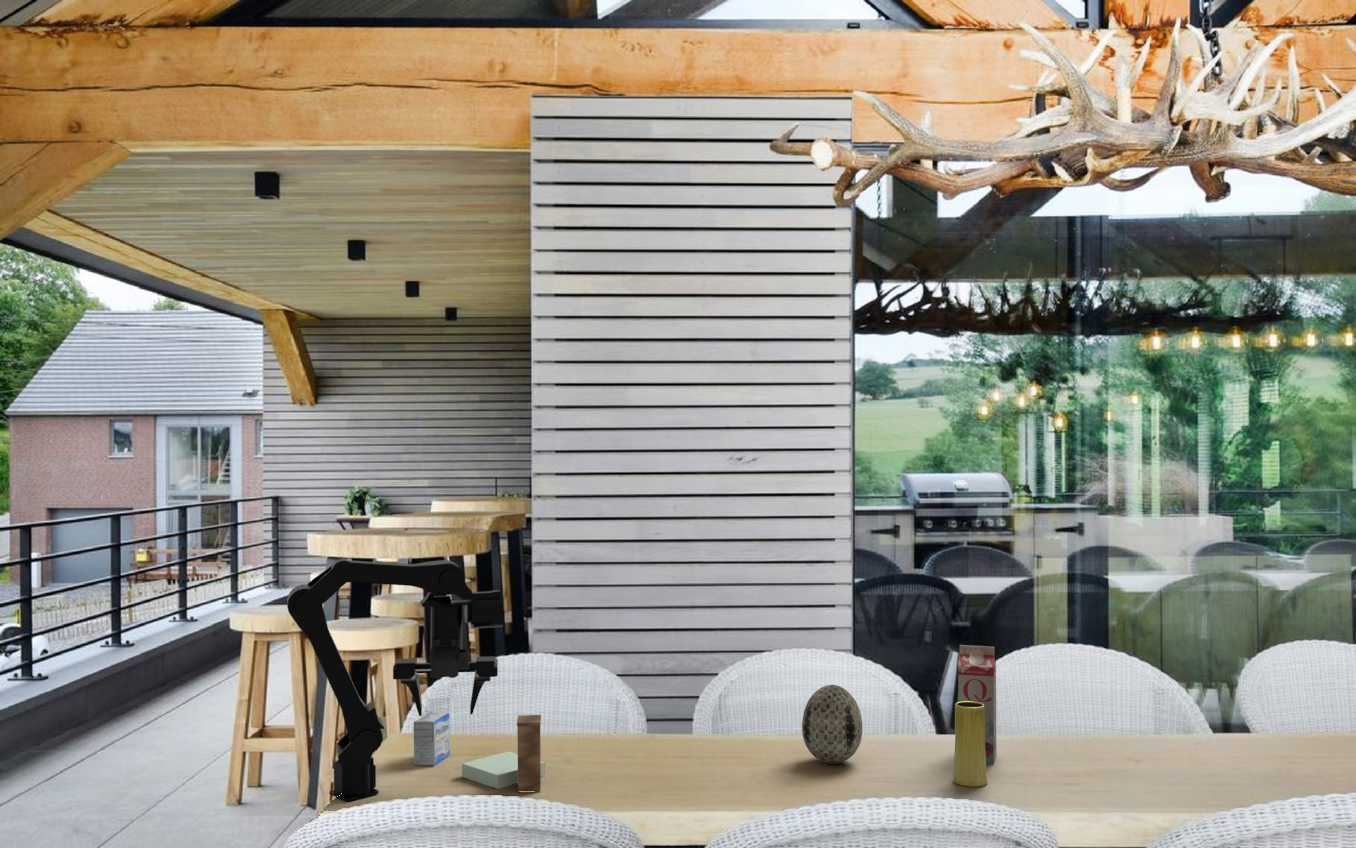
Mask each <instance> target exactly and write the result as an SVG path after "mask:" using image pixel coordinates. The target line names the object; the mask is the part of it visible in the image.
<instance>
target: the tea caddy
mask: <svg viewBox="0 0 1356 848" xmlns="http://www.w3.org/2000/svg"><path fill="white" fill-rule="evenodd" d="M541 719H542V715H541V714H526V715H524V714H522V715H519V714H518V715H517V720H516V721H517V722H516V727H517V754H518V784H517V792H518V791H540V792H541V790H540V789H541V788H542V785H541V784H542V781H541V780H542V777H541V761H542V760H541V756H542V753H541V752H542V751H541V748H542V747H541V746H542V744H541V743H542V741H541V740H542V739H541V725H542V724H541V723H542V721H541Z"/></svg>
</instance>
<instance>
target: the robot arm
mask: <svg viewBox="0 0 1356 848" xmlns="http://www.w3.org/2000/svg"><path fill="white" fill-rule="evenodd" d="M347 583H358V584H373V585H392V586H406V587H407V586H409V587H410V586H411V587H414V588H419V589H422V590H425V591H429V592H427V594H426V595H425V596H424V597H423V598H422V599H421V600H420V601H419V604H420V606H422V607H423V608H430V651H429V656H428V657H429V658H428V660H429V661H428V662H418V658H415V657H414V658H398V659H397V660H396V661H394V665H393V666H392V667H393V668H392V680H397V681H398V680H400V681H399V682H400V684H402V685H403V684H404V685H406V686H407V687H408V690H409V691H410V693H411V695H412V698H413V701H414V704H415V707H416V711H417V712H418V716H419V717H422V715H423V712H422V711H423V704H422V703H423V702H422V693H421V692H422V691H421V685H420V675H419V674H430V677H431V678H433V679H440V678H451V679H455V678H456V677H458V676H459V673H474V676H473V677H474V678H473V685H472V693H471V700H470V705H469V706H470V707H469V709H470V711H469V714H470V715H473V714H474V710H475V707H476V704H477V701H478V697H479V695H480V692H481V690H482V688H483V686H484V684H485V683H486V682H490V681H491V678H495V677H498V675H499V674H498V673H499V672H498V670H499V669H498V668H499V667H498V666H499V665H498V664H499V663H498V662H499V661H498V658H497V657H496V656H490V655H489V656H476V659H475V661H470V649H469V648H463V606H464V621H465V624H470V627H471V629H487V628H502V627H503V626H504V623H505V609H504V606H503V604H504V603H503V599H502V591H500V590H499V589H495V590H493V589H492V590H489V591H474V592H473V590H472V588H470V587H469V586H468V585H467V584H466V582H465V574H464V572H463V570H462V568H461V567H460V566H459V565H458V564H457V563H455V562H453V561H452V560H448V559H441V560H433V561H425V562H418V563H412V564H411V563H395V562H379V561H367V560H366V561H365V560H351V559H348V558H338V559H336V560H335V561H334V562H333V563H332V564H331V565H330V566H328V568H326V569H325V570H324V571H323V572H320V573H319V574H318V575H317V576H316V577H314V578H312V580H310V581H309V582H308V583H306V584H300V585H296V586H295V587H294V588H292V589H291V590H290V591H289V593H288V596H287V599H286V604H287V605H286V606H287V610H288V613H289V615H290V617H291V618H292V619H293V620H294V622H295V624H296V625H297V626H298V628H299V629H300V631H301V632H302V633H303V634H304V636H305V637H306V638H307V639H308V641H309V642H310V645H311V647H312V649H313V651H314V653H315V655H316V657H317V659H318V662H319V664H320V666H321V668H322V670H323V672H324V675H325V677H326V679H327V681H328V683H329V686H330V687H331V690H332V691H333V693H334V696H335V699H336V700H337V703H338V705H339V707H340V709H341V712H342V717H343V721H344V724H345V730H346V733H345V734H344V735H343V736H342V737H341V739H340V740H338V742H337V743H335V749H336V754H337V759H336V760H335V761H333V790H329V792H328V793H329V795H331V796H333V797H335V798H338V799H340V800H343V801H345V802H351V801H355V800H359V799H362V798H365V797H369V796H373V795H372V794H374V795H377V794H379V789H377V788H376V787H377V779H376V778H377V776H376V775H377V773H376V772H377V771H376V768H377V766H376V765H375V764H374V757H372V756H373V754H374V752H376V751H377V750H378V749H379V748H380V747H381V745H382V743H383V740H384V739H383V738H384V735H383V731H382V730H385V726H384V723H383V720H382V718H381V717H380V716H378V714H377V713H378V712H377V710H376V706H375V703H374V702H373V701H372V700H371V701H370V702H368V703H367V704H366V703H365V702H364V701H363V700H362V698H361V697H360V695H359V693H358V691H357V688H356V687H355V685H354V682H353V680H352V677H351V676H350V673H349V671H348V668H347V667H346V665H345V662H344V660H343V658H342V656H341V653H340V652H339V649H338V647H337V645H336V643H335V640H334V638H333V636H332V634H331V632H330V630H329V627H328V622H327V619H326V614H325V611H324V607H323V605H324V603H326V602H327V601H328V600H330V598H332V597H333V596H334V595H335V594H336V593H337V592H338V591H339V590H340V589H341V588H342V587H344V585H345V584H347ZM432 592H433V593H437V594H441V595H436V596H435V595H433V594H432ZM451 595H455V596H457V597H458V598H459V599H461V600H459V599H458V600H457V599H456V600H455V599H454V600H453V599H451ZM341 793H342V794H341ZM339 795H340V796H339ZM337 796H338V797H337Z"/></svg>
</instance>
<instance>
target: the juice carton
mask: <svg viewBox="0 0 1356 848" xmlns="http://www.w3.org/2000/svg"><path fill="white" fill-rule="evenodd" d="M995 652H996V651H995V646H989V645H988V646H987V645H986V646H984V645H967V644H966V645H965V644H959V656H958V663H957V671H958V672H957V674H958V675H957V676H958V679H957V680H958V681H957V682H958V683H957V684H958V686H957V691H958V692H957V694H958V696H957V697H958V701H957V702H960V701H974V702H979V703H982V704H984V720H985V754H986V764H990V765H991V764H992V765H995V762H996V760H997V759H996V758H997V662H996V657H995Z"/></svg>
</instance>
